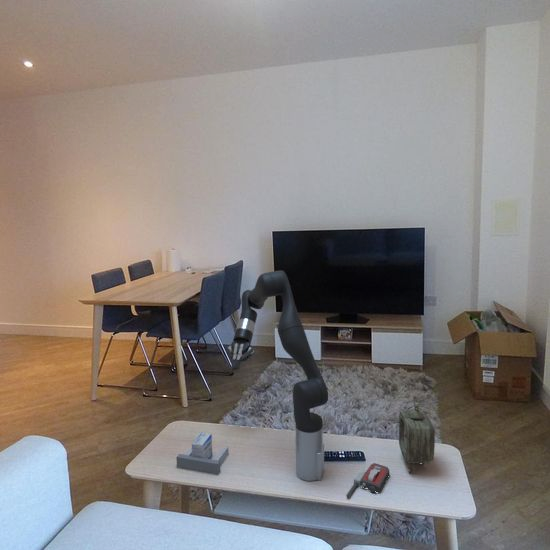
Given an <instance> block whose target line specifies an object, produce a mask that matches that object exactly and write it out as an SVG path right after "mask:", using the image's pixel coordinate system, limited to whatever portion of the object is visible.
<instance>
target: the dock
mask: <svg viewBox="0 0 550 550" xmlns="http://www.w3.org/2000/svg"><path fill="white" fill-rule="evenodd" d="M229 452H230V451H229V446H225V445H224V446H223V447H222V449H221V451H219V453H218V454H217V455H216V457H215V458H214V459H213V458H210V459H207V458H201V457H195V456H192V447H191V448H190V449H189V450H188V451H187V452H186V453H185V454H183V453H182V454H181V453H179V454H178V455H176V468H177V469H178V468H179V469H184V470H189V471H195V472H201V473H206V474H210V475H211V474H212V475H217V476H218V475H220V473H221V466H222V464H223V463H224V461H225V460H226V458H227V457H228V456H229Z"/></svg>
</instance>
